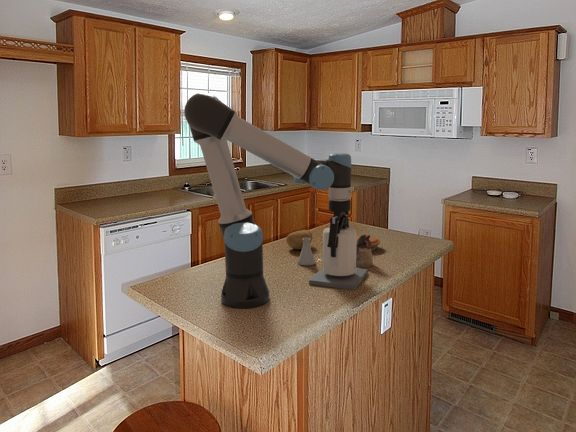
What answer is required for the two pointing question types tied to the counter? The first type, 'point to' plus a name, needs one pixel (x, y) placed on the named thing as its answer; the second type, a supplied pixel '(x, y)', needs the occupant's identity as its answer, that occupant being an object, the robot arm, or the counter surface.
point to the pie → (372, 242)
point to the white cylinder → (341, 252)
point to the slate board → (339, 279)
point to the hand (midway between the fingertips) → (339, 260)
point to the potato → (298, 238)
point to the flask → (306, 254)
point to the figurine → (363, 252)
